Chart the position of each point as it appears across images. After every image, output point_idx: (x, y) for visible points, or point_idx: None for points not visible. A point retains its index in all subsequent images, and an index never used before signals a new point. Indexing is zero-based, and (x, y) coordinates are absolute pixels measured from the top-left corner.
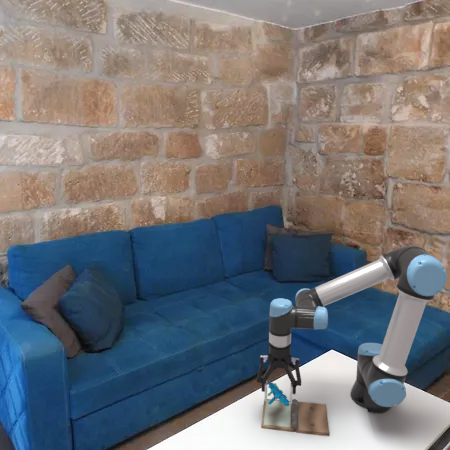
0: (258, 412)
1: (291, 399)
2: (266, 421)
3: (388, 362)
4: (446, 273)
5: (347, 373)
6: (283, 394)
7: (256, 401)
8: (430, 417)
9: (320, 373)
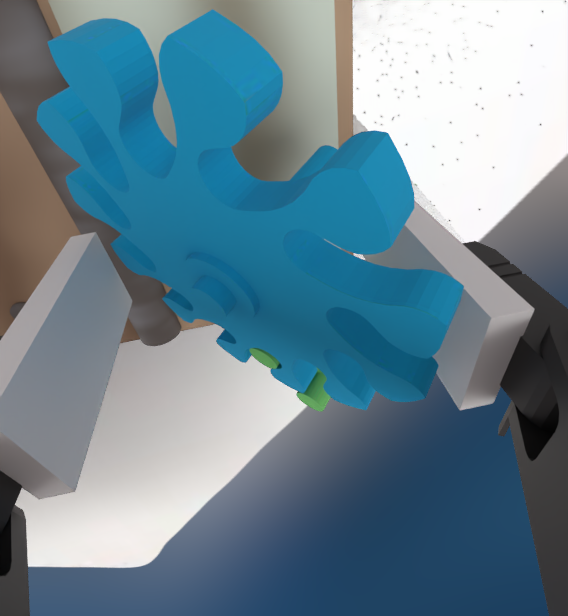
0: None
1: (62, 264)
2: (310, 19)
3: None
4: None
5: (35, 531)
6: (198, 314)
7: None
8: None
9: (136, 501)
